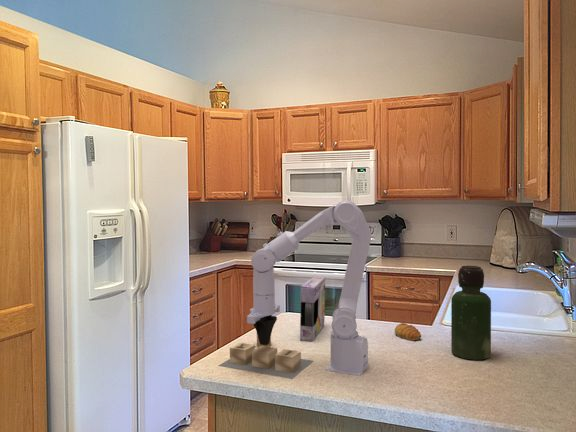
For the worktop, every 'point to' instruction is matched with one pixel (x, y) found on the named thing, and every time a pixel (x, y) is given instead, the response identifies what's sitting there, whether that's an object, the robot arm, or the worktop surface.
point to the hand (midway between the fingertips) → (264, 344)
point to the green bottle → (471, 316)
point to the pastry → (407, 332)
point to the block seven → (241, 353)
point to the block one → (288, 360)
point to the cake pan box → (312, 308)
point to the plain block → (264, 357)
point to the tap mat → (269, 371)
